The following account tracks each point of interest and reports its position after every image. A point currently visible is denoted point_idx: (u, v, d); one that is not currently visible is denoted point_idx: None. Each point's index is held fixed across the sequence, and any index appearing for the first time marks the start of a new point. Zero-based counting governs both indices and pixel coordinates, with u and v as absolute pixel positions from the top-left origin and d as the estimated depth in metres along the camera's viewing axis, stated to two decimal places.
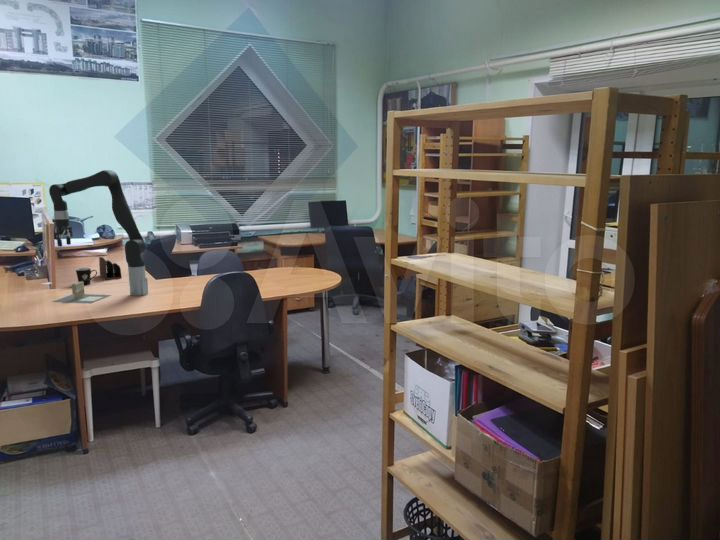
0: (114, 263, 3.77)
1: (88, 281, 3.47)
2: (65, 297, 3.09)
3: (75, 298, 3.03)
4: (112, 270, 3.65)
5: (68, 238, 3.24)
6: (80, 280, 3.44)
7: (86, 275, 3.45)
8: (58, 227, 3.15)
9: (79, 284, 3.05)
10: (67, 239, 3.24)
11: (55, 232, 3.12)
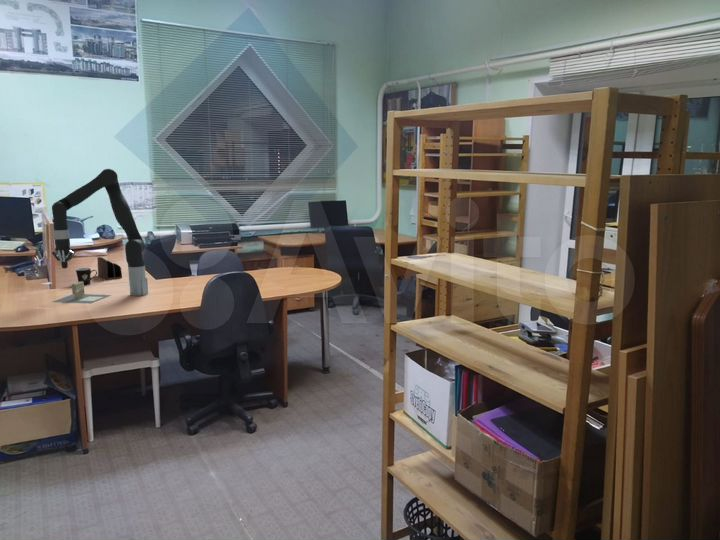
0: (113, 263, 3.77)
1: (88, 281, 3.47)
2: (65, 297, 3.09)
3: (75, 298, 3.03)
4: (113, 270, 3.65)
5: None
6: (80, 280, 3.44)
7: (86, 275, 3.45)
8: (68, 246, 3.02)
9: (79, 284, 3.05)
10: None
11: (72, 255, 3.02)
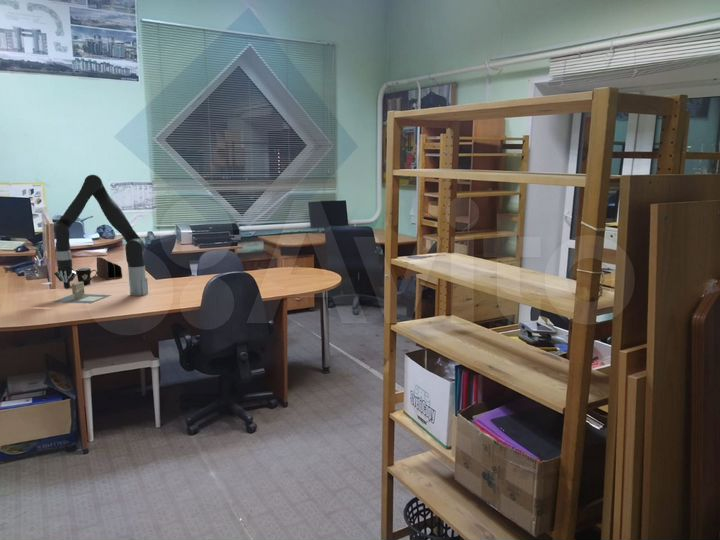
0: None
1: (88, 281, 3.47)
2: (65, 297, 3.09)
3: (75, 298, 3.03)
4: (113, 270, 3.65)
5: None
6: (80, 280, 3.44)
7: (86, 275, 3.45)
8: (71, 267, 3.04)
9: (79, 284, 3.05)
10: None
11: (74, 276, 3.04)
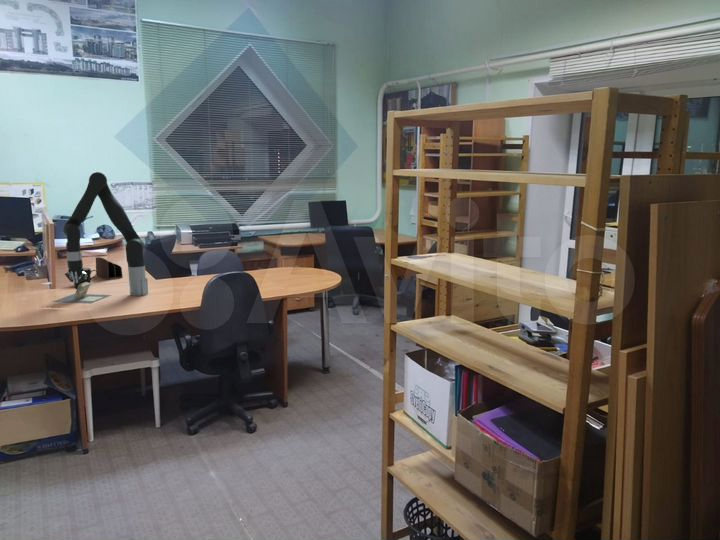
0: None
1: (88, 281, 3.47)
2: (65, 297, 3.09)
3: (76, 297, 3.03)
4: (113, 270, 3.66)
5: None
6: None
7: None
8: (81, 268, 3.03)
9: (85, 286, 3.05)
10: None
11: (84, 276, 3.04)
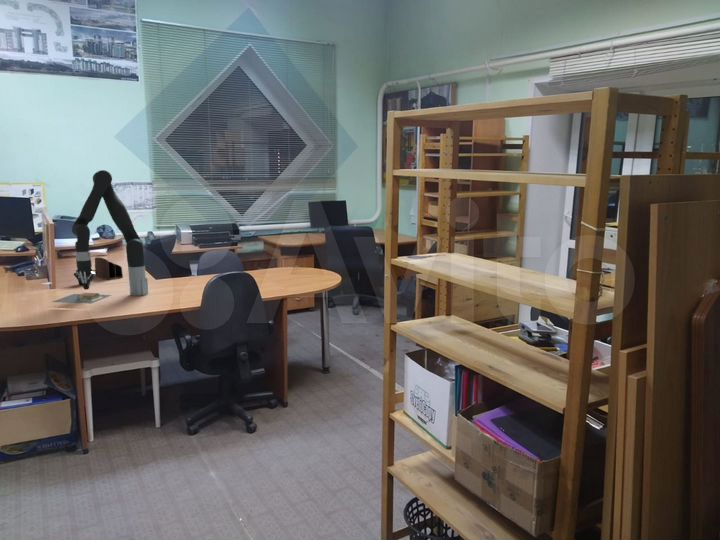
0: None
1: None
2: (65, 297, 3.09)
3: (78, 298, 3.03)
4: (113, 270, 3.66)
5: None
6: None
7: None
8: (90, 268, 3.02)
9: None
10: None
11: (93, 276, 3.03)
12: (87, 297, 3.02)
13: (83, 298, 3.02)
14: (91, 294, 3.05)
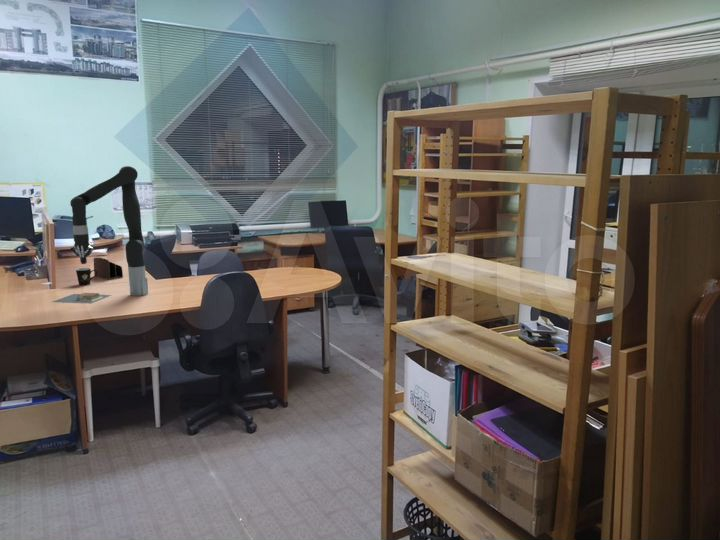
0: None
1: (88, 281, 3.47)
2: (65, 297, 3.09)
3: (78, 298, 3.03)
4: (114, 270, 3.66)
5: None
6: (80, 280, 3.44)
7: (86, 275, 3.45)
8: (87, 242, 3.00)
9: None
10: None
11: (91, 251, 3.01)
12: (87, 297, 3.02)
13: (83, 298, 3.02)
14: (91, 294, 3.05)
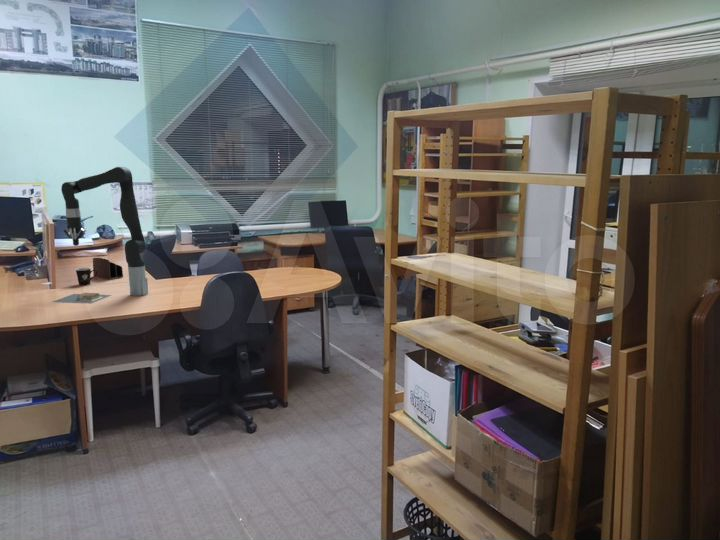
0: None
1: (88, 281, 3.47)
2: (65, 297, 3.09)
3: (78, 298, 3.03)
4: (114, 270, 3.66)
5: None
6: (80, 280, 3.44)
7: (86, 275, 3.45)
8: (80, 224, 3.15)
9: None
10: None
11: (83, 233, 3.16)
12: (87, 297, 3.02)
13: (83, 298, 3.02)
14: (91, 294, 3.05)
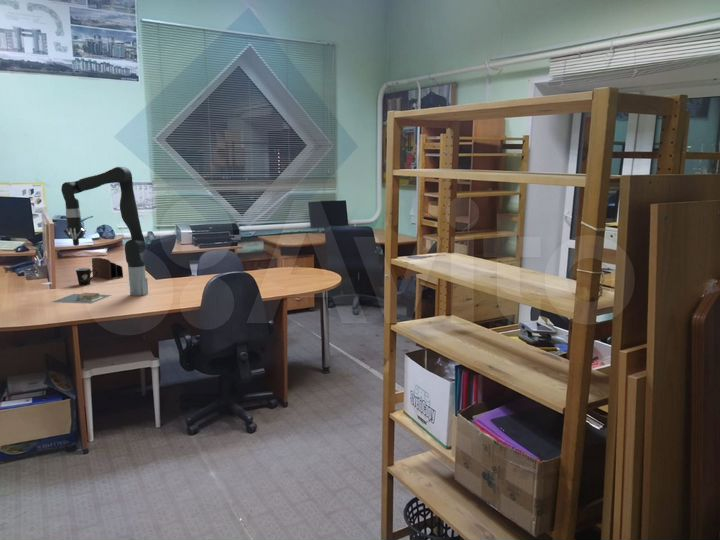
0: None
1: (88, 281, 3.47)
2: (65, 297, 3.09)
3: (78, 298, 3.03)
4: (114, 270, 3.66)
5: None
6: (80, 280, 3.44)
7: (86, 275, 3.45)
8: (80, 225, 3.15)
9: None
10: None
11: (83, 233, 3.16)
12: (87, 297, 3.02)
13: (83, 298, 3.02)
14: (91, 294, 3.05)
